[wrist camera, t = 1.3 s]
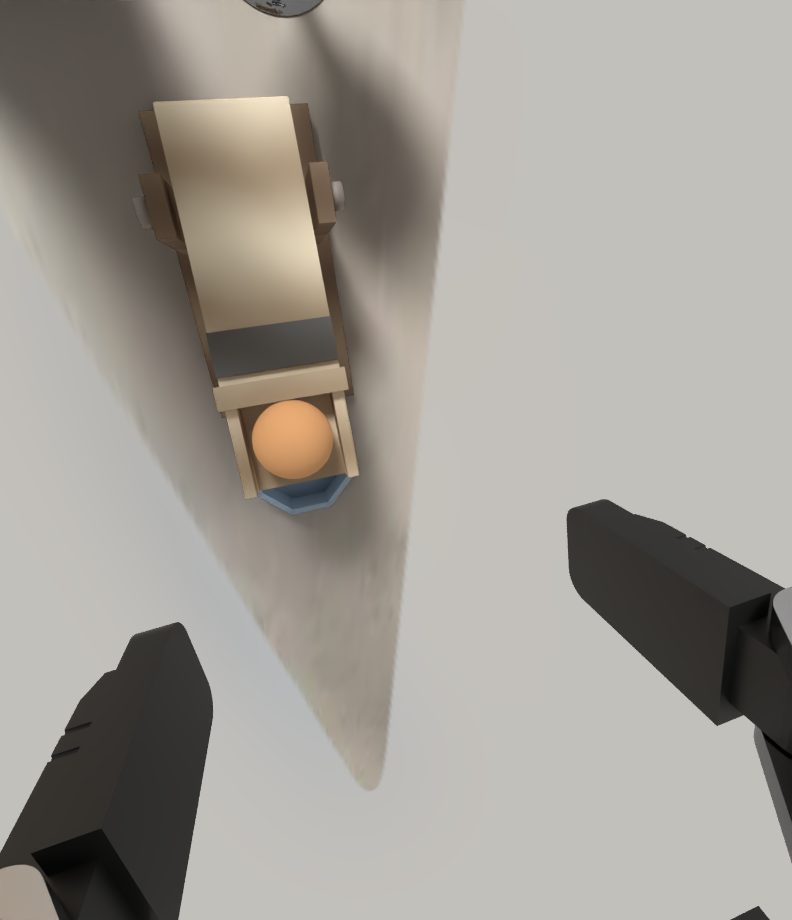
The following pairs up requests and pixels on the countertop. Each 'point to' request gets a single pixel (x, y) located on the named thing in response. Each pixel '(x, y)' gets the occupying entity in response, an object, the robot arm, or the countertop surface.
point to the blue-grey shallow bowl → (306, 494)
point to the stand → (323, 203)
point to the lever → (255, 270)
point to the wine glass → (284, 6)
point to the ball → (292, 439)
